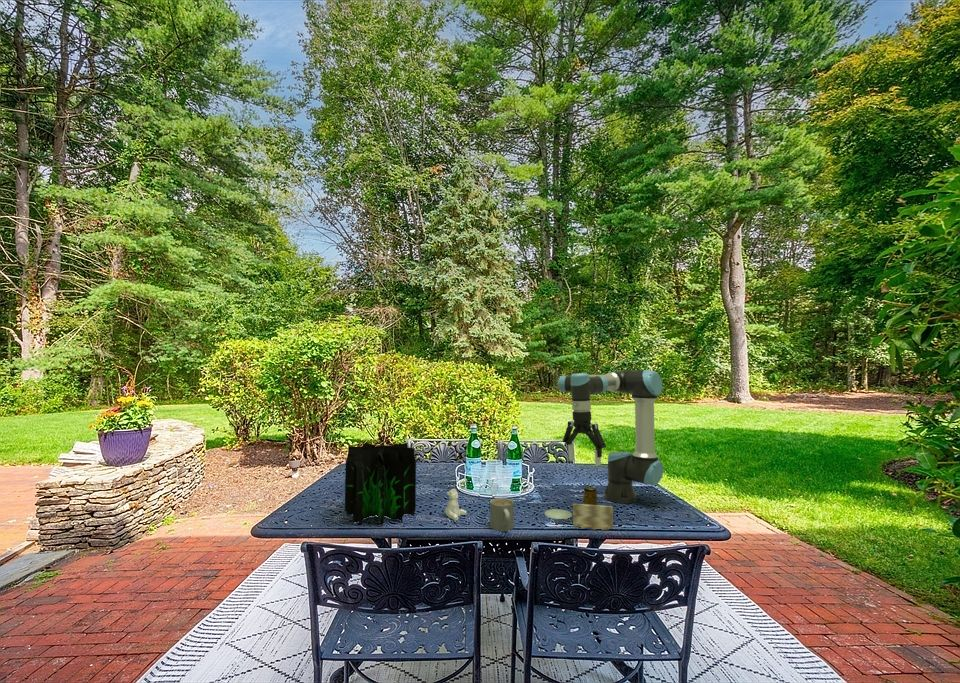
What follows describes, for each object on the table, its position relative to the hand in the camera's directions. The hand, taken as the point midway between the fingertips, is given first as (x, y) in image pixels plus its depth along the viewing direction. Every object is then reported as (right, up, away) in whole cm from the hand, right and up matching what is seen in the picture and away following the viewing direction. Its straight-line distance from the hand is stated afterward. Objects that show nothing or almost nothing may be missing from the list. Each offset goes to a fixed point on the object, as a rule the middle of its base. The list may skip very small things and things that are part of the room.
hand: (584, 462), depth 179 cm
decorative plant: (-88, -28, +16) cm, 94 cm away
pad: (-8, -28, +16) cm, 33 cm away
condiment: (+7, -28, +15) cm, 33 cm away
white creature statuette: (-55, -28, +14) cm, 63 cm away
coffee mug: (-34, -27, +1) cm, 44 cm away
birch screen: (+4, -27, +1) cm, 28 cm away
